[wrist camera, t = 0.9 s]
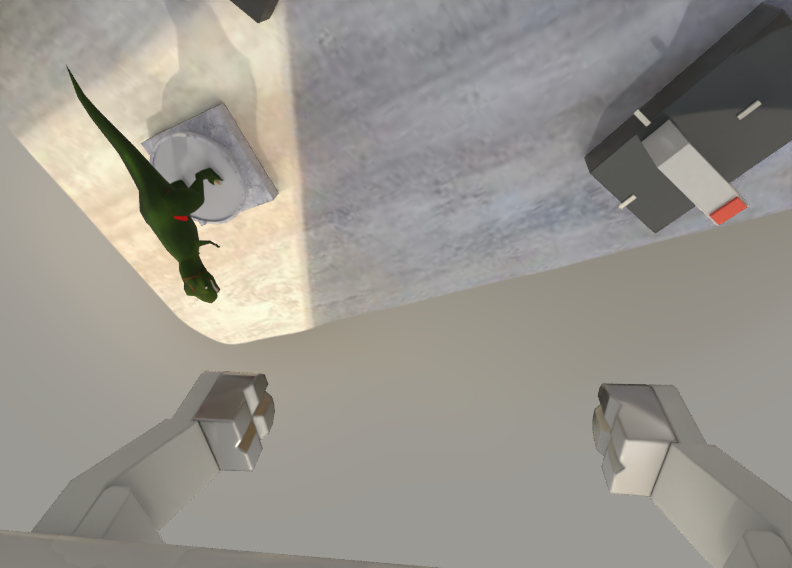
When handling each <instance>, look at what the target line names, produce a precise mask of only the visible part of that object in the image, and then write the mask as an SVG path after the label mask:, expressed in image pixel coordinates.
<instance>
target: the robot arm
mask: <svg viewBox="0 0 792 568" xmlns="http://www.w3.org/2000/svg"><path fill="white" fill-rule="evenodd" d="M267 385H268V382H267V380H266V377H265V375H264V374H261V373H248V372H230V371H225V372H223V371H205V372H204V373H202V374H201V375H200V377H199V378H198V380H197V381H196V383H195V384H194V386H193V387H192V389H191V390H190V392H189V393H188V395H187V396H186V398H185V399H184V401H183V402H182V404H181V406H180V407H179V408H178V410H177V411H176V413H175V415H174V416H173V418H172V419H170V420H169V419H166V420H164V421H162V422H161V423H159V424H158V425H156V426H155V427H153V428H152V429H150V430H148V431H147V432H145V433H144V434H142V435H141V436H139V437H138V438H136V439H135V440H133V441H132V442H130V443H128V444H127V445H125V446H124V447H122V448H121V449H119V450H118V451H116V452H115V453H113V454H111V455H110V456H108V457H107V458H105V459H104V460H102V461H101V462H99V463H98V464H96V465H95V466H93V467H91V468H90V469H88V470H87V471H85V472H84V473H82V474H80V475H79V476H77V477H76V478H74V479H73V480H71V481H70V482H69V484H68V485H67V486H66V488H65V489H64V490H63V491H62V493H61V494H60V495H59V496H58V498H57V499H56V500H55V502H54V503H53V504H52V506H51V507H50V508H49V510H48V511H47V512H46V513H45V515H44V516H43V517H42V518H41V520H40V521H39V522H38V524H37V525H36V526H35V527H34V529H33V530H32V531H31V532H20V531H9V530H0V568H437V567H426V566H414V565H402V564H390V563H379V562H367V561H355V560H344V559H331V558H320V557H308V556H297V555H286V554H274V553H263V552H250V551H239V550H227V549H216V548H205V547H193V546H181V545H169V544H166V543H165V541H164V540H163V538H162V537H161V535H160V534H159V532H158V531H159V530H160V529H161V528H162V527H163V526H164V525H165V524H166V523H167V522H168V521H169V520H170V519H172V518H173V517H174V516H175V515H176V514H177V513H178V512H179V511H180V510H181V509H182V508H183V507H184V506H185V505H186V504H187V503H188V502H189V501H191V500H192V499H193V498H194V497H195V496H196V495H197V494H198V493H199V492H200V491H201V490H202V489H203V488H204V487H205V486H206V485H207V484H208V483H209V482H211V481H212V480H213V479H214V478H215V477H216V476H217V475H218V474H219V473H220V470H226V471H253V470H254V468H255V465H256V463H257V461H258V458H259V456H260V454H261V451H262V445H261V442H260V440H261V439H262V438H264V437H265V436H266V435H268V434H269V432H270V429H271V427H272V424H273V419H274V413H275V410H274V402H273V398H272V396H271V395H270V394H268V393H267V392H266V391H265V390H266V387H267ZM598 397H599V401H600V405H599V406H598V407H597V408H595V410H594V415H593V436H594V441H595V445H596V449H597V450H598V451H599V452H600V453H601V454H602V455H603V456H604V459H603V464H602V470H603V473H604V477H605V480H606V483H607V487H608V490H609V493H612V494H623V495H635V496H646V497H651V498H650V499H651V500H652V501H653V503H655V504H656V506H657V507H658V508H659V509H660V510H661V511H662V512H663V513H664V515H665V516H666V517H667V518H668V519H669V520H670V521H671V522H672V523H673V524H674V526H675V527H676V528H677V529H678V530H679V531H680V532H681V533H682V534H683V535H684V536H685V538H687V540H688V541H689V542H690V543H691V544H692V545H693V546H694V547H695V548H696V550H697V551H698V552H699V553H700V554H701V555H702V556H703V557H704V558H705V559H706V560H707V562H708V563H709V564H710V565H711V566H712V567H713V568H792V502H791V501H790V500H789V499H787V498H786V497H785V496H783V495H782V494H781V493H779V492H778V491H776V490H775V489H774V488H772V487H771V486H770V485H768V484H767V483H766V482H764V481H763V480H761V479H760V478H759V477H757V476H756V475H754V474H753V473H752V472H751V471H749V470H748V469H746V468H745V467H744V466H742V465H741V464H740V463H738V462H737V461H735V460H734V459H733V458H731V457H730V456H729V455H727V454H726V453H724V452H723V451H722V450H720V449H719V448H718V447H717V446H715V445H707V443H706V442H705V440H704V438H703V436H702V434H701V433H700V430H699V429H698V427H697V425H696V423H695V421H694V419H693V418H692V415H691V414H690V412H689V410H688V408H687V406H686V404H685V402H684V400H683V399H682V397H681V395H680V393H679V391H678V389H677V388H676V387H675V386H673V385H645V384H643V385H642V384H602V385H601V387H600V388H599V392H598Z"/></svg>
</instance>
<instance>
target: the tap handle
mask: <svg viewBox="0 0 792 568" xmlns="http://www.w3.org/2000/svg"><path fill="white" fill-rule="evenodd" d="M642 144H643V146H644V147H645V149H646V150H647V152H648V154H649V155H650V157H651V158H652V160H653V161H654V163H655V165H656V166H657V168H658V169H659V170H660V171H661V172H662V173H663V174H664V175H665V176H666V177H667V178H668V179H669V180H670V181H671V182H672V183H673V184H675V185H676V186H677V187H678V188H679V189H680V190H681V191H682V192H683V193H684V194H685V195H686V196H687V197H688V198H689V199H690V200H691V201H692V202H693V203H694V204H695V205H696V206H697V207H698V208H699V209H700V210H701V211H702V212H703V213H704V214H705V215H706V216H707V217H708V218H709V219H710V220H711V221H712V222H713V223H714V224H715V225H716V226H719V225H720V224H722V223H723V222H725V221H726V220H728V219H730V218H731V217H733V216H734V215H736V214H737V213H739V212H741V211H742V210H744V209H745V208H747V207H748V206H749V204H748V203H747V201H746V200H745V199H744V198H743V197H742V196H741V195H740V193H739V192H738V191H737V190H736V189H735V188H734V187H733V185H732V184H731V183H730V182H729V181H728V180H727V179H726V177H725V176H724V175H723V174H722V173H721V172H720V171H719V170H718V169H717V168H716V167H715V166H714V165H713V164H712V163H711V162H710V161H709V160H708V159H707V158H706V157H705V156H704V155H703V154H702V152H701V151H700V150H699V149H698V148H697V147H696V146H695V145H694V144H693V143H692V142H691V141H690V140H689V139H688V138H687V137H686V136H685V135H684V134H683V133H682V132H681V131H680V130H679V129H678V128H677V126H676V125H675V124H674V123H673V122H672V121H671V120H668V121H666V122H665V123H664V124H663V125H662V126H660V127H659V128H658V129H657V130H656V131H654V132H653V133H652V134H651V135H649V136H648V137H647V138H646V139H645V140H643V141H642Z"/></svg>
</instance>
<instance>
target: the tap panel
mask: <svg viewBox="0 0 792 568" xmlns="http://www.w3.org/2000/svg"><path fill="white" fill-rule="evenodd" d="M668 120H671V121H672V122H673V123H674V124H675V125H676V126H677V128H678V129H679V130H680V131H681V132H682V133H683V134H684V135H685V136H686V137H687V138H688V139H689V140H690V141H691V142H692V143H693V144H694V145H695V146H696V147H697V148H698V149H699V150H700V151H701V152H702V154H703V155H704V156H705V157H706V158H707V159H708V160H709V161H710V162H711V163H712V164H713V165H714V166H715V167H716V168H717V169H718V170H719V171H720V172H721V173H722V174H723V175H724V176H725V177H726V179H727V180H728V181H729V182H731V181H733V180H734V179H736V178H737V177H739V176H740V175H742V174H743V173H745V172H746V171H748V170H749V169H750V168H752V167H753V166H755V165H756V164H758V163H759V162H761V161H762V160H764V159H765V158H767V157H768V156H769V155H771V154H772V153H774V152H775V151H777V150H778V149H780V148H781V147H783V146H784V145H786V144H787V143H788V142H790V141H791V140H792V19H791V18H790V17H789V16H788V14H787V13H786V12H785V10H783V9H780V8H777V7H773V6H770V5H767V4H764V3H761V4H760V5H759V6H758V7H757V8H756V9H754V10H753V11H752V12H751V13H750V14H749V15H748V16H746V17H745V18H744V19H743V20H742V21H741V22H740V23H738V24H737V25H736V26H735V27H734V28H733V29H731V30H730V31H729V32H728V33H727V34H726V35H725V36H723V37H722V38H721V39H720V40H719V41H718V42H717V43H715V44H714V45H713V46H712V47H711V48H710V49H708V50H707V51H706V52H705V53H704V54H703V55H702V56H700V57H699V58H698V59H697V60H696V61H695V62H694V63H692V64H691V65H690V66H689V67H688V68H687V69H685V70H684V71H683V72H682V73H681V74H680V75H679V76H677V77H676V78H675V79H674V80H673V81H672V82H671V83H669V84H668V85H667V86H666V87H665V88H664V89H662V90H661V91H660V92H659V93H658V94H657V95H656V96H654V97H653V98H652V99H651V100H650V101H649V102H648V103H646V104H645V105H644V106H643V107H642V108H641V109H639V110H638V109H637V110H636V111H635V112H634V115H633V116H631V117H630V118H629V119H628V120H627V121H626V122H625V123H623V124H622V125H621V126H620V127H619V128H618V129H616V130H615V131H614V132H613V133H612V134H611V135H610V136H608V137H607V138H606V139H605V140H604V141H603V142H602V143H600V144H599V145H598V146H597V147H596V148H595V149H593V150H592V151H591V152H590V153H589V154H588V155H587V156H585V157H584V159H585V161H586V164H587V167H588V170H589V173H590V174H591V175H592V176H593V177H594V178H596V179H597V180H598V181H599V182H600V183H601V184H602V185H603V186H604V187H605V188H606V189H607V190H608V191H610V192H611V193H612V194H613V195H614V196H615V197H616V198H617V199H618V200H619V201H620V202H621V204H620V205H619V206H618V207H619V208H620V209H622V208H624V207H625V206H626V207H627V208H628V209H629V210H630V211H631V212H632V213H633V214H634V215H636V216H637V217H638V218H639V219H640V220H641V221H642V222H643V223H644V224H645V225H646V226H647V227H649V228H650V229H651V230H652V231H653V232H654V233H657V232H658V231H660V230H661V229H663V228H664V227H666V226H667V225H669V224H670V223H671V222H673V221H674V220H676V219H677V218H679V217H680V216H682V215H683V214H685V213H686V212H688V211H689V210H690V209H692V208H693V207H695V206H696V205H695V204H694V203H693V202H692V201H691V200H690V199H689V198H688V197H687V196H686V195H685V194H684V193H683V192H682V191H681V190H680V189H679V188H678V187H677V186H676V185H675V184H673V183H672V182H671V181H670V180H669V179H668V178H667V177H666V176H665V175H664V174H663V173H662V172H661V171H660V170H659V169H658V168H657V166H656V165H655V163H654V161H653V160H652V158H651V157H650V155H649V154H648V152H647V150H646V149H645V147H644V146H643V144H642V141H643V140H645V139H646V138H647V137H648V136H649V135H651V134H652V133H653V132H654V131H656V130H657V129H658V128H659V127H660V126H662V125H663V124H664V123H665V122H666V121H668Z"/></svg>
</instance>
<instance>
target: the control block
mask: <svg viewBox="0 0 792 568" xmlns="http://www.w3.org/2000/svg"><path fill="white" fill-rule="evenodd" d="M230 1H232V2H233V3H234V4H235V5H236V6H238V7H239V8H240V9H241V10H243V11H244V12H245V13H246V14H247V15H249V16H250V17H251V18H252V19H253V20H255V21H256V22H257V23H260V22H263V21H265V20H267V19H269V18H270V17H271V15H272V13H273V11H274V9H275V7H276V5H277V2H278V0H230Z"/></svg>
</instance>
